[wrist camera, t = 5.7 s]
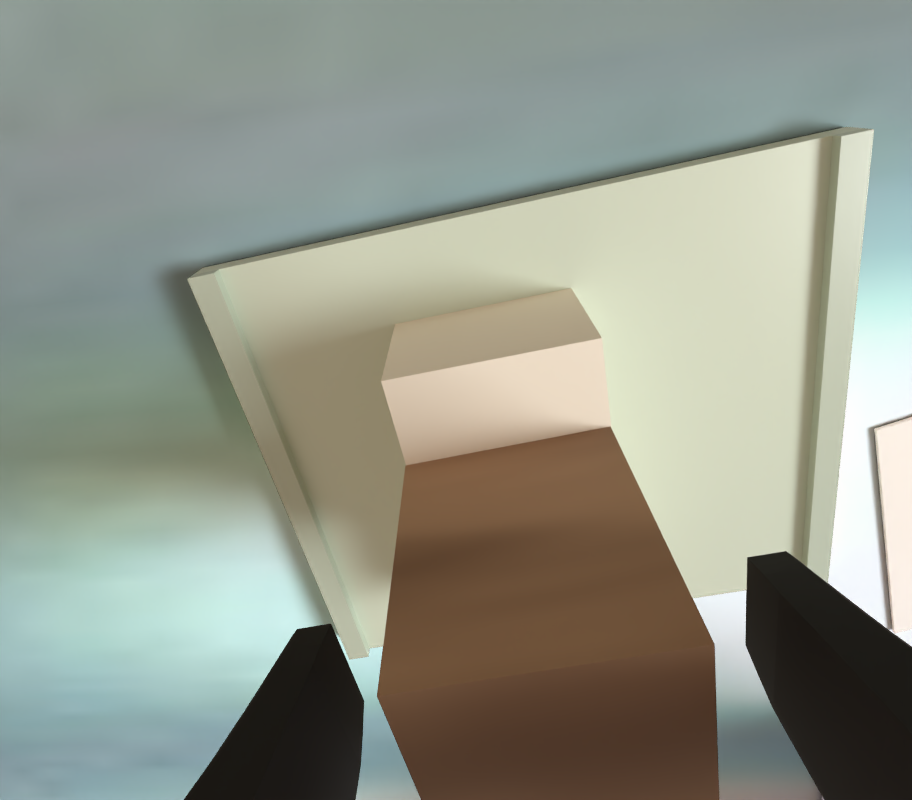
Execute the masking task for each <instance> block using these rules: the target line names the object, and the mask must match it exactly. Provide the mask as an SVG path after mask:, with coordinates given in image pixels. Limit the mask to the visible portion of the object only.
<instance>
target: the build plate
mask: <svg viewBox="0 0 912 800" xmlns="http://www.w3.org/2000/svg"><path fill="white" fill-rule="evenodd" d="M873 134H874V129H865V128H854V127H843V128H839V129H834V130H830V131H825V132H820V133H816V134H811V135H807V136H802V137H798V138H793V139H789V140H784V141H779V142H775V143H770V144H766V145H761V146H757V147H752V148H747V149H743V150H738V151H734V152H729V153H725V154H720V155H715V156H711V157H706V158H702V159H697V160H693V161H688V162H684V163H679V164H674V165H670V166H665V167H661V168H656V169H652V170H647V171H642V172H638V173H633V174H629V175H624V176H620V177H615V178H611V179H606V180H601V181H597V182H592V183H588V184H583V185H579V186H574V187H569V188H565V189H560V190H556V191H551V192H547V193H542V194H538V195H533V196H528V197H524V198H519V199H515V200H510V201H506V202H501V203H496V204H492V205H487V206H483V207H478V208H474V209H469V210H464V211H460V212H455V213H451V214H446V215H442V216H437V217H433V218H428V219H423V220H419V221H414V222H410V223H405V224H401V225H396V226H391V227H387V228H382V229H378V230H373V231H369V232H364V233H360V234H355V235H350V236H346V237H341V238H337V239H332V240H328V241H323V242H318V243H314V244H309V245H305V246H300V247H296V248H291V249H286V250H282V251H277V252H273V253H268V254H264V255H259V256H255V257H250V258H245V259H241V260H236V261H232V262H227V263H223V264H218V265H213V266H209V267H204V268H202V269H201V270H199V271H198V272H196V273H195V274H193V275H192V276H191V277H189V278H188V279H187V280H188V282H189V284H190V287H191V289H192V291H193V294H194V296H195V298H196V301H197V303H198V305H199V308H200V310H201V312H202V315H203V317H204V319H205V322H206V324H207V327H208V329H209V331H210V334H211V336H212V338H213V341H214V343H215V345H216V348H217V350H218V352H219V355H220V357H221V359H222V362H223V364H224V366H225V369H226V371H227V373H228V376H229V378H230V380H231V383H232V385H233V387H234V390H235V392H236V395H237V397H238V399H239V402H240V404H241V406H242V409H243V411H244V413H245V416H246V418H247V420H248V423H249V425H250V427H251V430H252V432H253V434H254V437H255V439H256V441H257V444H258V446H259V448H260V451H261V453H262V456H263V458H264V460H265V463H266V465H267V467H268V470H269V472H270V474H271V477H272V479H273V481H274V484H275V486H276V488H277V491H278V493H279V495H280V498H281V500H282V502H283V505H284V507H285V509H286V512H287V514H288V517H289V519H290V521H291V524H292V526H293V528H294V531H295V533H296V535H297V538H298V540H299V542H300V545H301V547H302V549H303V552H304V554H305V556H306V559H307V561H308V563H309V566H310V568H311V570H312V573H313V575H314V578H315V580H316V582H317V585H318V587H319V589H320V592H321V594H322V596H323V599H324V601H325V603H326V606H327V608H328V610H329V613H330V615H331V617H332V620H333V622H334V624H335V627H336V629H337V631H338V634H339V636H340V639H341V641H342V643H343V646H344V648H345V650H346V653H347V655H348V657H349V660H350V659H356V658H363V657H369V650H370V648H375V647H382V646H383V644H384V636H385V627H386V619H387V611H388V603H389V595H390V587H391V579H392V571H393V562H394V554H395V546H396V538H397V530H398V522H399V514H400V506H401V497H402V489H403V481H404V473H405V466H406V463H405V460H404V457H403V453H402V450H401V447H400V443H399V440H398V436H397V433H396V430H395V426H394V423H393V420H392V416H391V413H390V410H389V406H388V403H387V400H386V396H385V393H384V389H383V386H382V383H381V379H382V375H383V371H384V367H385V363H386V359H387V355H388V351H389V347H390V342H391V338H392V334H393V330H394V326H395V324H398V323H403V322H407V321H412V320H417V319H422V318H427V317H432V316H437V315H442V314H447V313H452V312H456V311H461V310H466V309H471V308H476V307H481V306H486V305H491V304H496V303H501V302H505V301H510V300H515V299H520V298H525V297H530V296H535V295H540V294H545V293H550V292H554V291H559V290H564V289H569V288H572V290H573V292H574V293H575V295H576V296H577V298H578V300H579V301H580V303H581V305H582V306H583V308H584V309H585V311H586V313H587V314H588V316H589V318H590V319H591V321H592V322H593V324H594V326H595V327H596V329H597V331H598V332H599V334H600V336H601V337H602V342H603V352H604V361H605V371H606V381H607V390H608V400H609V409H610V419H611V428H612V431H613V433H614V435H615V437H616V439H617V441H618V443H619V445H620V447H621V449H622V452H623V454H624V456H625V458H626V460H627V462H628V464H629V466H630V468H631V470H632V472H633V475H634V477H635V479H636V481H637V483H638V485H639V487H640V489H641V491H642V493H643V496H644V498H645V500H646V502H647V504H648V506H649V508H650V510H651V512H652V514H653V517H654V519H655V521H656V523H657V525H658V527H659V529H660V531H661V533H662V535H663V538H664V540H665V542H666V544H667V546H668V548H669V550H670V552H671V554H672V556H673V558H674V561H675V563H676V565H677V567H678V569H679V571H680V573H681V575H682V577H683V579H684V582H685V584H686V586H687V588H688V590H689V592H690V594H691V596H692V598H698V597H704V596H711V595H717V594H724V593H730V592H737V591H743V590H747V557H752V556H759V555H765V554H771V553H777V552H784V551H787V552H788V553H790V554H791V555H792V556H794V557H795V558H796V559H798V560H799V561H800V562H801V563H803V564H804V565H805V566H807V567H808V568H809V569H810V570H812V571H813V572H814V573H815V574H817V575H818V576H819V577H821V578H822V579H823V580H824V581H826V582H827V583H828V576H829V566H830V556H831V546H832V536H833V526H834V517H835V507H836V497H837V487H838V477H839V467H840V458H841V448H842V438H843V428H844V418H845V409H846V399H847V389H848V379H849V369H850V359H851V350H852V340H853V330H854V320H855V310H856V301H857V291H858V281H859V271H860V261H861V251H862V242H863V232H864V222H865V212H866V202H867V192H868V183H869V173H870V163H871V153H872V143H873Z"/></svg>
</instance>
